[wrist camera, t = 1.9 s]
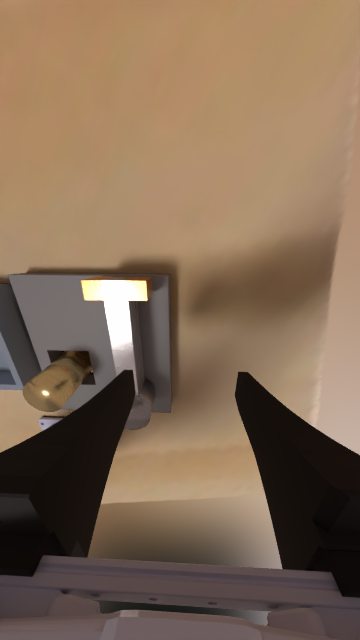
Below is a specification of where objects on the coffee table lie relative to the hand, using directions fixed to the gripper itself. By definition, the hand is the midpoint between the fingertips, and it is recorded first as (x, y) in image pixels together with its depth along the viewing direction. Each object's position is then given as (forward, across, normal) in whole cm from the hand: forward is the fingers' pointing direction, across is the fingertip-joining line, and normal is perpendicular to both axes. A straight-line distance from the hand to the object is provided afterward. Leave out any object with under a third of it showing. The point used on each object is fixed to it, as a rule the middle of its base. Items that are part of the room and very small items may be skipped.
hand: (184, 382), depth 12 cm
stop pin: (+9, +14, +5) cm, 17 cm away
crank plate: (+9, +10, +3) cm, 14 cm away
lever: (+7, +6, +2) cm, 9 cm away
